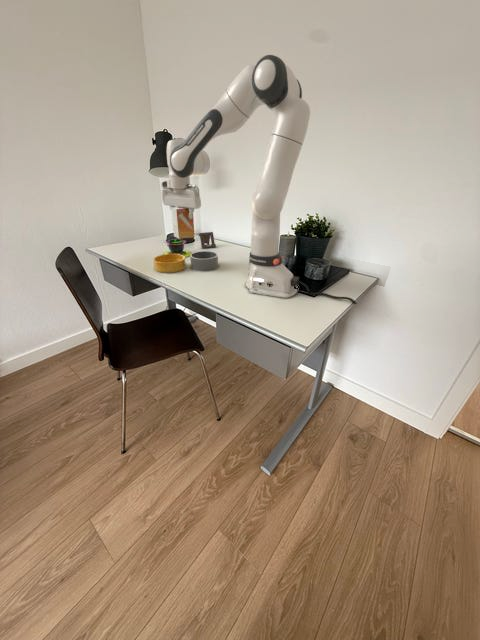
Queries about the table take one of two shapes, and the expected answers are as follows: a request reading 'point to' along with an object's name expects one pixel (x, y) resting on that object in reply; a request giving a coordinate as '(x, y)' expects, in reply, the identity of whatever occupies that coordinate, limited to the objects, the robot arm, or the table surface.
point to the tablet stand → (207, 239)
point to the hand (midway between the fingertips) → (182, 217)
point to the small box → (182, 223)
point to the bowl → (169, 263)
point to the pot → (204, 260)
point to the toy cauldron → (177, 247)
